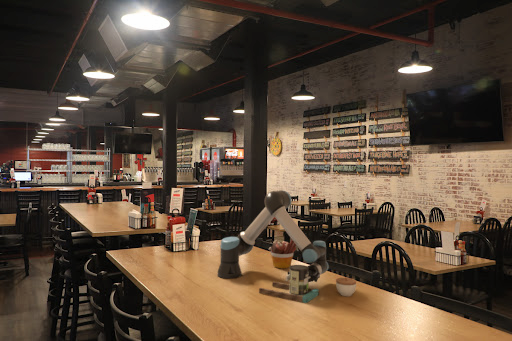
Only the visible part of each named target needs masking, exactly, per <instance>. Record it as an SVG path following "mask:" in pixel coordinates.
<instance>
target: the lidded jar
mask: <svg viewBox="0 0 512 341" xmlns="http://www.w3.org/2000/svg"><path fill="white" fill-rule="evenodd" d="M335 283H336V284H335V285H336V290H337V292H338V293H339V295H340V296H342V297H352V296H353V294H354V293H355V292H356V289H357V280H356V279H354V278H351V277H347V276H345V277H337V278H336V279H335Z"/></svg>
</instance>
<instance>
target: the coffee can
mask: <svg viewBox="0 0 512 341" xmlns="http://www.w3.org/2000/svg"><path fill="white" fill-rule="evenodd" d="M308 266H309V265H303V264H293V265H292V264H291V266H290V267H289V268H288V269H289V272H290V280H289V285H290V290H288V291H289V294H293V295H298V296H304V295H306V294H307V293H308V288H309V283H307V284H304V279H305V278H307V277H308V274H309V267H308Z"/></svg>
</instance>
